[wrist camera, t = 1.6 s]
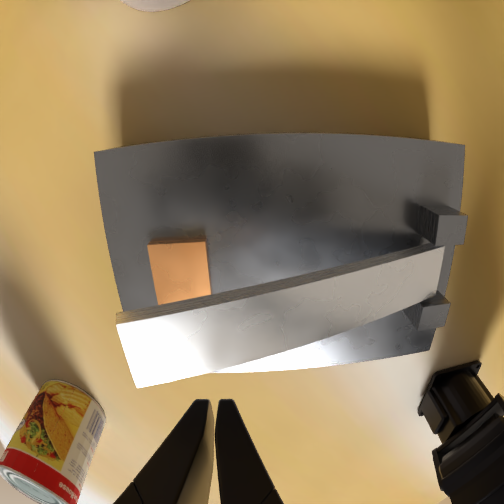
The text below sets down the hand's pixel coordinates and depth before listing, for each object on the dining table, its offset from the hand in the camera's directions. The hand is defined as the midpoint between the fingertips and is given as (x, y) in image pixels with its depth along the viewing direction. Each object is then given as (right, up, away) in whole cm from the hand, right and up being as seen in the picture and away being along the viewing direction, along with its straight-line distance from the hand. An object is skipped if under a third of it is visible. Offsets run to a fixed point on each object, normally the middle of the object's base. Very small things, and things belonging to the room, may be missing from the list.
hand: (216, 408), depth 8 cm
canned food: (-18, -12, +19) cm, 28 cm away
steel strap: (+4, +2, +5) cm, 7 cm away
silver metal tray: (+3, +5, +12) cm, 13 cm away
